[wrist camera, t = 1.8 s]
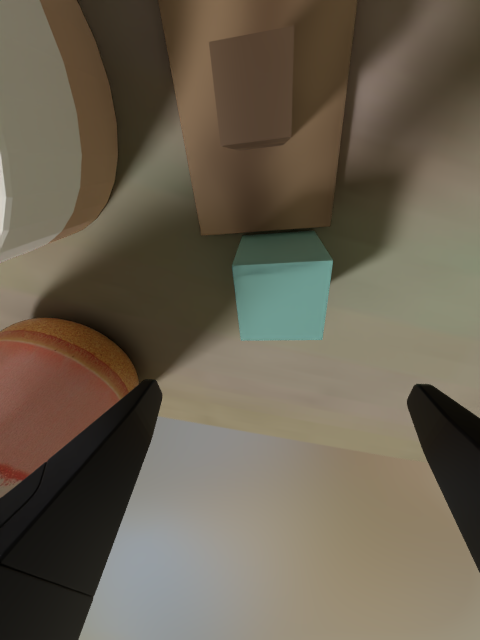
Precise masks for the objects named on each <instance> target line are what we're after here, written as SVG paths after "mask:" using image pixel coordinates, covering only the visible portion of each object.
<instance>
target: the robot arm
mask: <svg viewBox="0 0 480 640" xmlns="http://www.w3.org/2000/svg"><path fill="white" fill-rule="evenodd" d="M161 401H162V392H161V390H160V388H159V385H158V383H157V381H156V380H152V379H146V380H144V381H142V382H141V383H140V384H139V385H137V386H136V387H135V388H134V389H133V390H131V391H130V392H129V393H128V394H127V395H125V396H124V397H123V398H122V399H121V400H119V401H118V402H117V403H116V404H114V405H113V406H112V407H111V408H110V409H108V410H107V411H106V412H105V413H104V414H102V415H101V416H100V417H99V418H98V419H96V420H95V421H94V422H93V423H92V424H90V425H89V426H88V427H87V428H86V429H84V430H83V431H82V432H81V433H80V434H78V435H77V436H76V437H75V438H74V439H72V440H71V441H70V442H69V443H67V444H66V445H65V446H64V447H63V448H61V449H60V450H59V451H58V452H57V453H55V454H54V455H53V456H52V457H51V458H49V459H48V461H47V462H44V463H43V464H42V465H41V466H40V467H38V468H37V469H36V470H35V471H34V472H32V473H31V474H30V475H29V476H27V477H26V478H25V479H24V480H23V481H21V482H20V483H19V484H18V485H16V486H15V487H14V488H13V489H11V490H10V491H9V492H7V493H6V494H5V495H4V496H2V497H1V498H0V640H78V639H79V636H80V633H81V631H82V628H83V625H84V623H85V620H86V617H87V614H88V612H89V609H90V606H91V603H92V601H93V596H94V595H95V592H96V589H97V587H98V584H99V581H100V578H101V576H102V573H103V570H104V568H105V565H106V562H107V559H108V557H109V554H110V551H111V549H112V546H113V543H114V540H115V538H116V535H117V532H118V529H119V527H120V524H121V521H122V519H123V516H124V513H125V511H126V508H127V505H128V502H129V499H130V497H131V494H132V492H133V489H134V486H135V483H136V481H137V478H138V475H139V472H140V470H141V467H142V464H143V462H144V459H145V456H146V453H147V451H148V448H149V445H150V442H151V439H152V435H153V432H154V429H155V424H156V421H157V417H158V413H159V409H160V405H161ZM407 406H408V409H409V412H410V415H411V418H412V421H413V424H414V427H415V430H416V432H417V435H418V438H419V441H420V444H421V447H422V449H423V452H424V454H425V457H426V459H427V461H428V463H429V465H430V468H431V470H432V472H433V474H434V476H435V478H436V480H437V483H438V484H439V487H440V489H441V491H442V493H443V495H444V497H445V500H446V502H447V504H448V506H449V508H450V510H451V512H452V514H453V517H454V519H455V521H456V523H457V525H458V527H459V530H460V532H461V534H462V536H463V538H464V540H465V542H466V544H467V546H468V549H469V551H470V553H471V555H472V557H473V559H474V562H475V563H476V566H477V568H478V570H479V572H480V418H479V417H477V416H476V415H474V414H473V413H471V412H470V411H469V410H467V409H466V408H464V407H463V406H461V405H460V404H458V403H457V402H456V401H454V400H453V399H451V398H450V397H448V396H447V395H445V394H444V393H443V392H441V391H440V390H438V389H437V388H435V387H434V386H432V385H430V384H416V385H414V387H413V389H412V391H411V393H410V395H409V397H408V399H407Z"/></svg>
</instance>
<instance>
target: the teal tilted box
mask: <svg viewBox="0 0 480 640" xmlns="http://www.w3.org/2000/svg"><path fill="white" fill-rule="evenodd" d="M332 265H333V259H332V258H331V256H330V255H329V253H328V251H327V250H326V248H325V247H324V245H323V244H322V242H321V240H320V239H319V237H318V236H317V234H316V233H315V231H314V230H313V231H298V232H284V233H270V234H256V235H242V238H241V241H240V244H239V247H238V250H237V252H236V255H235V258H234V261H233V264H232V271H233V279H234V288H235V296H236V304H237V313H238V321H239V329H240V337H241V340H322V338H323V331H324V323H325V316H326V309H327V301H328V294H329V287H330V280H331V272H332Z"/></svg>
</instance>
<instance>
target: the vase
mask: <svg viewBox="0 0 480 640" xmlns="http://www.w3.org/2000/svg"><path fill="white" fill-rule="evenodd" d="M137 385H139V381H138V375H137V372H136V370H135V367H134V365H133V364H132V362H131V360H130V359H129V357H128V356H127V355H126V354H125V352H124V351H123V350H122V349H121V348H120V347H119V346H118V345H116V344H115V343H114V342H113V341H112V340H110V339H109V338H107V337H106V336H104V335H103V334H101V333H99V332H97V331H96V330H94V329H92V328H89V327H87V326H85V325H82V324H79V323H76V322H72V321H68V320H64V319H57V318H34V319H28V320H24V321H21V322H18V323H15V324H13V325H11V326H9V327H7V328H5V329H3V330H2V331H0V498H1V497H2V496H4V495H5V494H6V493H7V492H9V491H10V490H11V489H13V488H14V487H15V486H16V485H18V484H19V483H20V482H21V481H23V480H24V479H25V478H26V477H27V476H29V475H30V474H31V473H32V472H34V471H35V470H36V469H37V468H38V467H40V466H41V465H42V464H43V463H44V462H47V461H48V459H49V458H51V457H52V456H53V455H54V454H55V453H57V452H58V451H59V450H60V449H61V448H63V447H64V446H65V445H66V444H67V443H69V442H70V441H71V440H72V439H74V438H75V437H76V436H77V435H78V434H80V433H81V432H82V431H83V430H84V429H86V428H87V427H88V426H89V425H90V424H92V423H93V422H94V421H95V420H96V419H98V418H99V417H100V416H101V415H102V414H104V413H105V412H106V411H107V410H108V409H110V408H111V407H112V406H113V405H114V404H116V403H117V402H118V401H119V400H121V399H122V398H123V397H124V396H125V395H127V394H128V393H129V392H130V391H131V390H133V389H134V388H135V387H136V386H137Z"/></svg>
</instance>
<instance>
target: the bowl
mask: <svg viewBox="0 0 480 640" xmlns="http://www.w3.org/2000/svg"><path fill="white" fill-rule="evenodd" d="M117 160H118V139H117V121H116V116H115V110H114V105H113V100H112V95H111V89H110V84H109V81H108V78H107V75H106V72H105V69H104V66H103V63H102V59H101V56H100V53H99V50H98V47H97V44H96V41H95V39H94V37H93V34H92V32H91V30H90V28H89V26H88V23H87V21H86V19H85V17H84V15H83V12H82V10H81V8H80V6H79V4H78V2H77V0H0V263H1V262H4V261H6V260H9V259H11V258H14V257H17V256H19V255H22V254H24V253H27V252H29V251H32V250H34V249H37V248H39V247H42V246H44V245H46V244H48V243H51V242H54V241H56V240H59V239H62V238H64V237H67V236H69V235H72V234H74V233H76V232H79V231H81V230H83V229H84V228H86V227H87V226H88V225H89V224H90V223H92V222H93V221H94V220H95V219H96V218H97V217H98V215H99V214H100V212H101V211H102V209H103V208H104V206H105V205H106V203H107V202H108V199H109V196H110V193H111V190H112V188H113V185H114V182H115V175H116V168H117Z"/></svg>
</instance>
